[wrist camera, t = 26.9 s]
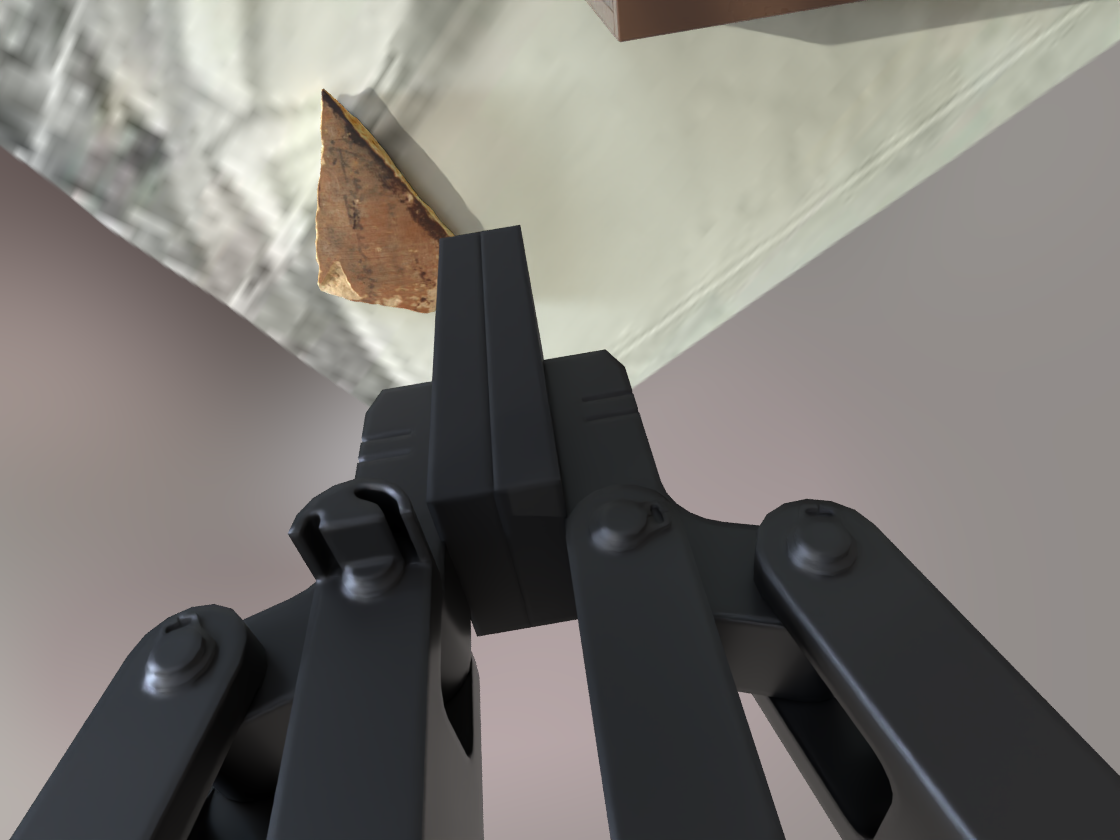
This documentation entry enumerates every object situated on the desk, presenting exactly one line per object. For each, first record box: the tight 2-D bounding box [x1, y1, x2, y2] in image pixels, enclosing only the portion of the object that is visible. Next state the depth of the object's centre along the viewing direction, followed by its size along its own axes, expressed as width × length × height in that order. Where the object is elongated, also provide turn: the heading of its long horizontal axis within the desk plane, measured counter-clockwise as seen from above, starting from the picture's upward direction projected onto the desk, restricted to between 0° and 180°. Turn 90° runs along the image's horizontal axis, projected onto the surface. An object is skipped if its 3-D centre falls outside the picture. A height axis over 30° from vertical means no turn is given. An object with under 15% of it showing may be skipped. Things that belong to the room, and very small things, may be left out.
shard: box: [315, 89, 455, 313], centre depth 36 cm, size 11×8×2 cm
